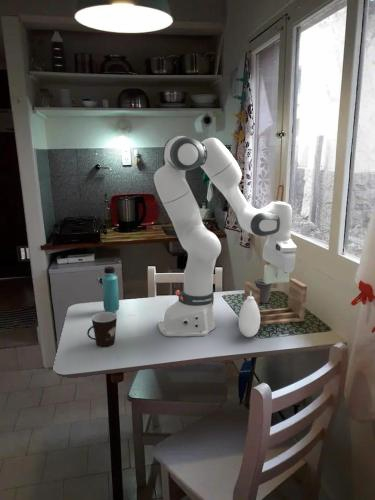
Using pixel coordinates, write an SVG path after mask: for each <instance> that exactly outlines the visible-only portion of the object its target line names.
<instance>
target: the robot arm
mask: <svg viewBox="0 0 375 500" xmlns="http://www.w3.org/2000/svg"><path fill="white" fill-rule="evenodd" d="M162 158H163V159H162V165H163V166H161V167H159V168H158V169H157V170H156V171H155V172H154V175H153V181H154V185H155V189H156V192H157V194H158V197H159V198H160V201H161V202H162V205H163V207H164V209H165V211H166V212H167V215H168V217H169V219H170V220H171V224H172V226H173V228H174V231H175V233H176V236H177V239H178V241H179V243H180V245H181V247H182V248H183V250H184V251H186V253H187V261H186V266H185V269H184V271H183V290H182V291H180V290H179V289H177V290H176V291H175V292H174V293H175V295H176V297H178V300H177V301H175V302H174V303H172V304H171V305H170V306H168V307H167V308H166V309H165V312H164V315H163V318H161V319H159V321H158V323H157V327H158V330H159V333H161V334H162V335H163V336H165V337H205V336H207V335H209V333H210V332H211V331H213V330H215V328H216V327H217V326H216V325H217V324H216V321H215V317H214V309H213V307H214V301H215V297H214V295H215V294H214V289H213V283H214V272H215V271H214V270H215V266H216V262H217V259H218V257H219V256H220V254H221V251H222V244H221V242H220V240H219V238H218V236H217V235H216V234H215V233H214V232H212V231H211V230H209V229H207V227H206V226H205V225H204V222H203V219H202V216H201V212H200V206H199V204H198V202H197V200H196V198H195V196H194V194H193V192H192V190H191V188H190V186H189V184H188V181H187V179H186V178H187V177H186V172H187V171H191V170H194V169H196V168H198V167H200V168H201V169H202V170H203V171H204V172H205V174H206V176H207V177H208V178H209V180H210V181H211V183H212V184H213V185H214V186H215V187H216V188H217V190H219V192H221V194H222V195H223V197H224V198H225V200H226V202H227V203H228V206H230V208H231V209H232V211H233V213H234V215H235V221H236V226H237V227H238V228H239V230H241V231H243V232H246V233H249V234H252V235H254V236H255V237H267V239H266V240H265V243H264V244H263V249H262V259H263V260H264V261H266V262H267V263H269V265H274V266H276V267H277V270H278V272H277V273H276V277H277V278H282V273H283V271H284V272H290V273H292V272H293V271H294V270H295V268H296V267H295V266H296V252H297V248H298V247H297V245H296V244H295V243H294V242H293V239H291V238H292V234H291V227H292V225H293V223H292V222H293V208H292V205H291V204H290V203H289V202H286V201H280V200H271V202H270V203H268V204H267V205H266V206H264V207H261V208H260V209H258V208H255V207H254V206H252V205H250V204H249V203H248V201H247V200H246V197H245V196H244V195H243V193H242V192H241V189H240V186H239V185H240V183H241V181H242V177H243V176H242V175H243V174H242V173H243V172H242V170H241V168H240V166H239V163H238V162H237V160H236V159H235V157H233V155H232V153H231V152H230V151H229V149H228V148H227V147H226V146H225V145H224V144H223V143H222V142H221V141H220V140H219V139H218V138H215V137H209V138H205V139H204V140H203V141H199V140H197V139H195V138H192V137H190V136H186V135H177V136H174V137H171V138H170V139H168V141H166V143H165V144H164V147H163V153H162Z"/></svg>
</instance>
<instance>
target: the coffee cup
mask: <svg viewBox="0 0 375 500" xmlns="http://www.w3.org/2000/svg"><path fill="white" fill-rule="evenodd" d="M263 280H264V278H260V279H256V280H255V281H254V285H255V286H256V287H257V288H258V289H260V303H259V304H267V303H268V302H269V300H270V294H271V288H272V285H273V284H274V283H270V284H266V283H264V282H263Z"/></svg>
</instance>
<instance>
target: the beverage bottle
mask: <svg viewBox="0 0 375 500" xmlns="http://www.w3.org/2000/svg"><path fill="white" fill-rule="evenodd" d="M103 272H104V274H105V275H103V277H102V278H101V279H102V296H103V297H102V299H103V300H102V302H103V310H104V312H112V313H115V312H118V311H119V310H120V298H119V296H120V295H119V283H118V282H119V281H118V280H119V279H118V277H119V276H117V275H116V274H115V267H114V266H106V267H104V271H103Z"/></svg>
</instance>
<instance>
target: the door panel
mask: <svg viewBox="0 0 375 500" xmlns="http://www.w3.org/2000/svg"><path fill="white" fill-rule="evenodd" d="M277 272H278V270H277V267H276V266H274V265H270V264H264V267H263V279H264V280H263V282H264V283H266V284H270V283H273V284H280V283H290V274H291V272H284V271H283V273H282V278H277V277H276V273H277Z"/></svg>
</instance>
